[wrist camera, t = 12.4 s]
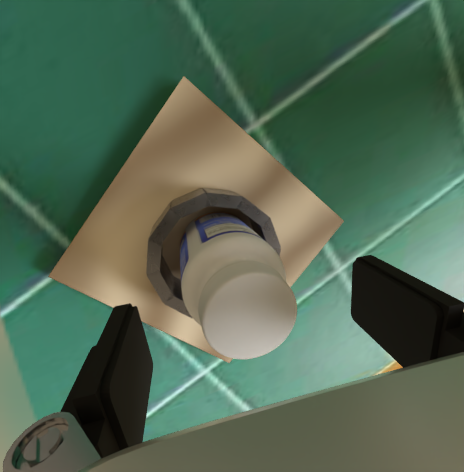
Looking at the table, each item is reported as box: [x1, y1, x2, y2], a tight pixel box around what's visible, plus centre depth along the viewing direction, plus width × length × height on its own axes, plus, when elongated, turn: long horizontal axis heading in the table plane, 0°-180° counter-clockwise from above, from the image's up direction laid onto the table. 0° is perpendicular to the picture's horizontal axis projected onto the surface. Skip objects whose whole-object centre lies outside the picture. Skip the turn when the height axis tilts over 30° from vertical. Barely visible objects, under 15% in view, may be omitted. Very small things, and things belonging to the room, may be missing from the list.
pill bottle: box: [180, 212, 297, 359], centre depth 14 cm, size 5×5×10 cm
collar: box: [146, 187, 281, 318], centre depth 18 cm, size 9×9×3 cm
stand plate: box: [48, 77, 344, 363], centre depth 20 cm, size 16×16×2 cm
